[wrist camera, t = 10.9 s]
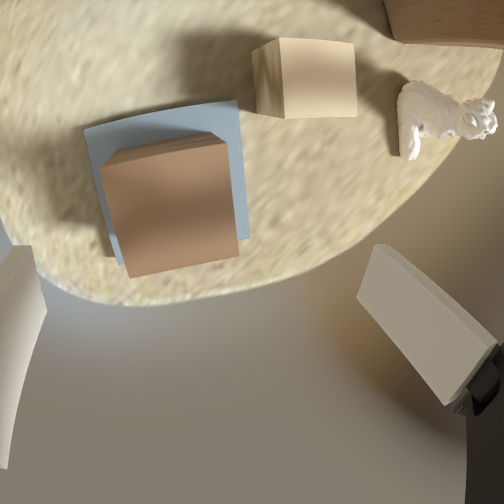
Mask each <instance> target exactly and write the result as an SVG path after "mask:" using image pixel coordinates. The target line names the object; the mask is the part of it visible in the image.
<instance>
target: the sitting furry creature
mask: <svg viewBox="0 0 504 504" xmlns="http://www.w3.org/2000/svg"><path fill="white" fill-rule="evenodd" d="M494 103H495V102H494V101H493V100H491V99H489V98H485V97H483V98H482V99H478V98H474V99H473V100H466V101H465V102H464V103H462V104H459V103H458V101H457V100H455V99H453V98H452V96H451V95H444V94H443V93H441V92H440V91H439V90H437V89H435V88H434V87H433V86H432V85H429V84H427V83H425V82H424V81H423V80H420V81H416V80H413V81H411V82H410V83H406V84H405V85H404V86H403V87H402V89H401V92H400V93H399V95H398V99H397V102H396V104H397V108H396V110H397V112H398V114H397V116H398V121H397V122H398V135H399V153H400V156H401V159H402V160H404V161H411V159H416V158H417V155H418V152H419V151H420V140H419V137H422V138H424V137H429V136H430V135H433V136H436V138H438V139H439V138H441V137H442V138H448V137H449V136H451V137H454V136H461V137H465V138H466V139H478V138H480V139H484V138H485V136H486V134H489V133H490V134H493V133H494V132H495V131H496V127H498V124H497V118H496V116H495V115H494V113H493V112H492V109H493V107H494Z"/></svg>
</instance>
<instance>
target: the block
mask: <svg viewBox="0 0 504 504" xmlns="http://www.w3.org/2000/svg"><path fill="white" fill-rule="evenodd" d="M383 2H384V5H385V9H386V12H387V16H388V19H389V23H390V27H391V31H392V35H393V37H394V39H395V40H396V41H398V42H401V43H403V44H426V45H440V46H466V47H482V48H494V49H503V50H504V0H383Z"/></svg>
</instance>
